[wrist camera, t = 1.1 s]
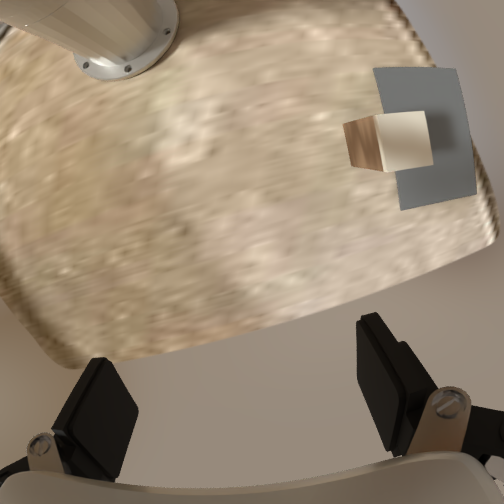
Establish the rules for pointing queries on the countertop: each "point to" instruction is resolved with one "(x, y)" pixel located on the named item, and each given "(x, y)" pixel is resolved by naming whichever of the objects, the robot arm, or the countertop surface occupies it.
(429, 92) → the grey mat
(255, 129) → the countertop surface
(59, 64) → the countertop surface
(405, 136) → the walnut block
